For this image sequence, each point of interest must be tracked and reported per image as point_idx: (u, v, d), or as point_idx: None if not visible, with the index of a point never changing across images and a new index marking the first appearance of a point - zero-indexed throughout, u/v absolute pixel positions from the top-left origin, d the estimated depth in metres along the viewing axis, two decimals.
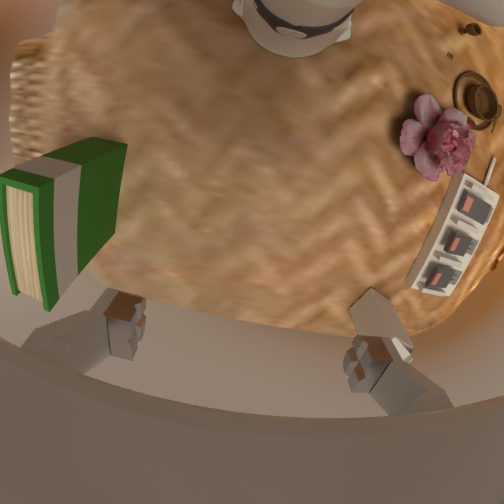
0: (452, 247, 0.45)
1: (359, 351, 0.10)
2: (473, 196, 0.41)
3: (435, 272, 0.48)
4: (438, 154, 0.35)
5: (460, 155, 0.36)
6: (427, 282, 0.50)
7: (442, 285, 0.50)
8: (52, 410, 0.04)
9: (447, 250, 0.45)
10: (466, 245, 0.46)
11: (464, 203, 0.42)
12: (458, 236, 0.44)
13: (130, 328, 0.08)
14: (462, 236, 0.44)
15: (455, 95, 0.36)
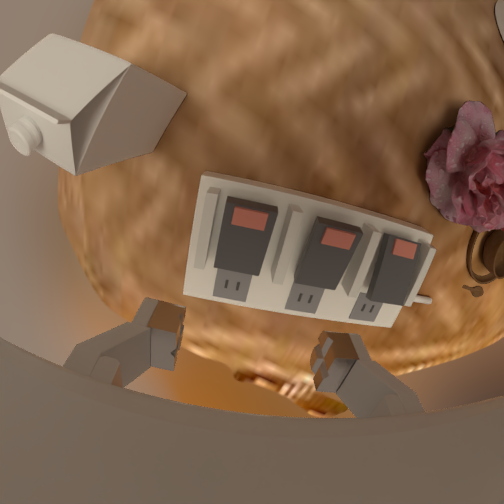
0: (332, 233, 0.24)
1: (324, 348, 0.10)
2: (415, 258, 0.27)
3: (268, 210, 0.24)
4: (495, 149, 0.19)
5: None
6: (234, 199, 0.24)
7: (223, 251, 0.26)
8: (52, 410, 0.04)
9: (323, 223, 0.24)
10: (321, 280, 0.28)
11: (405, 241, 0.26)
12: (352, 243, 0.25)
13: (175, 339, 0.08)
14: (349, 256, 0.26)
15: None
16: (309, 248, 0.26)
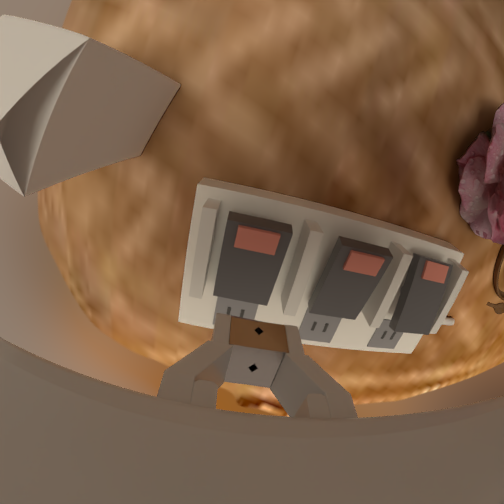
0: (358, 258, 0.20)
1: None
2: (445, 282, 0.22)
3: (280, 229, 0.19)
4: None
5: None
6: (237, 216, 0.19)
7: (224, 278, 0.22)
8: (52, 410, 0.04)
9: (347, 246, 0.20)
10: (341, 309, 0.23)
11: (436, 263, 0.21)
12: (380, 268, 0.20)
13: (257, 354, 0.09)
14: (374, 283, 0.21)
15: None
16: (328, 275, 0.21)
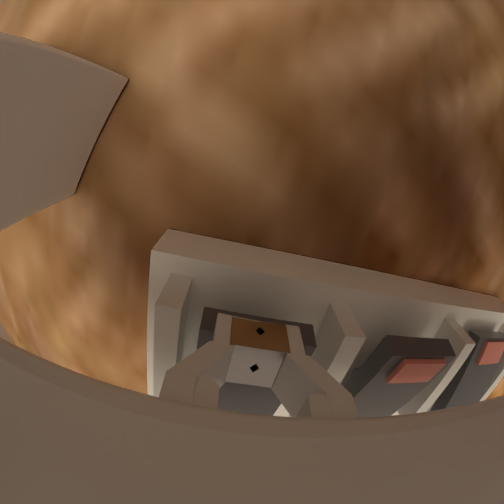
0: (412, 368, 0.11)
1: None
2: None
3: None
4: None
5: None
6: None
7: None
8: (52, 410, 0.04)
9: (399, 354, 0.11)
10: (371, 414, 0.14)
11: (495, 341, 0.13)
12: None
13: (258, 354, 0.09)
14: (422, 385, 0.12)
15: None
16: (363, 388, 0.12)
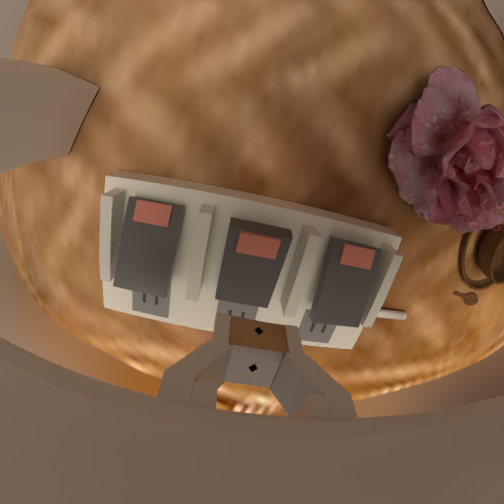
0: (249, 239, 0.20)
1: None
2: (373, 268, 0.22)
3: None
4: None
5: None
6: None
7: (123, 261, 0.20)
8: (52, 410, 0.04)
9: (236, 226, 0.20)
10: (247, 296, 0.23)
11: (357, 246, 0.22)
12: (279, 251, 0.20)
13: (257, 354, 0.09)
14: (277, 267, 0.21)
15: None
16: (223, 258, 0.21)
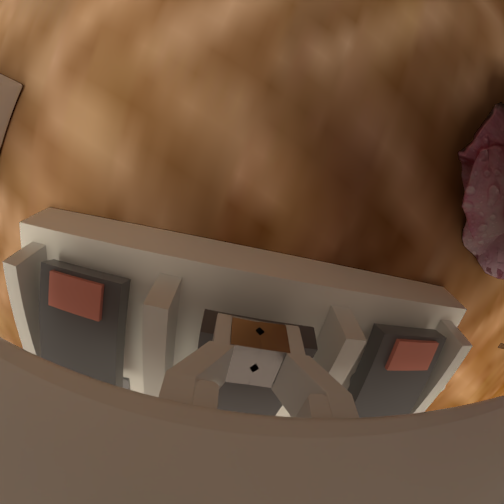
0: None
1: None
2: (430, 365, 0.12)
3: (105, 278, 0.11)
4: None
5: None
6: (58, 263, 0.11)
7: (50, 360, 0.11)
8: (52, 410, 0.04)
9: (213, 332, 0.10)
10: None
11: (416, 341, 0.12)
12: None
13: (258, 354, 0.09)
14: None
15: None
16: None
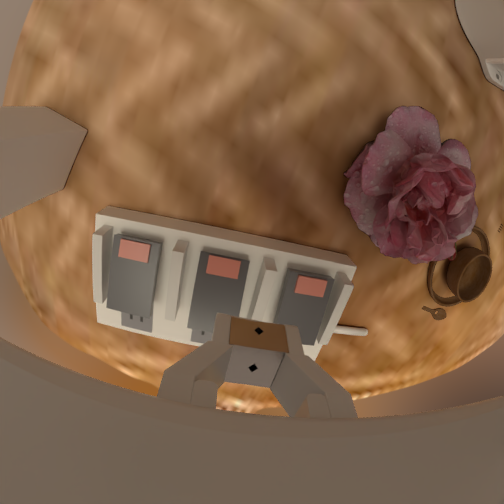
0: (216, 260, 0.25)
1: None
2: (326, 295, 0.26)
3: (151, 242, 0.24)
4: (429, 166, 0.19)
5: None
6: (122, 235, 0.24)
7: (113, 289, 0.24)
8: (52, 410, 0.04)
9: (206, 252, 0.25)
10: None
11: (311, 277, 0.26)
12: (240, 273, 0.26)
13: (257, 354, 0.09)
14: (240, 289, 0.26)
15: None
16: (195, 282, 0.25)
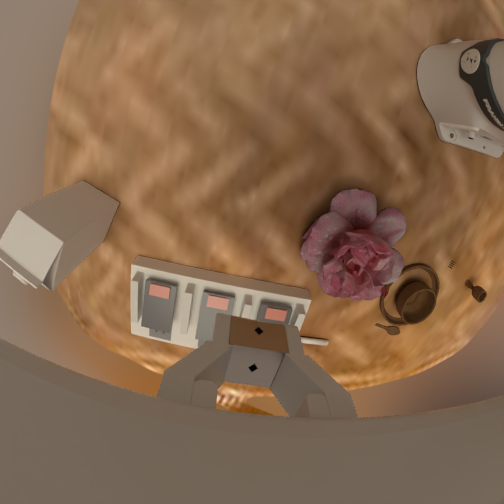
0: (212, 298, 0.38)
1: None
2: (287, 320, 0.39)
3: (170, 285, 0.38)
4: (354, 241, 0.31)
5: (346, 282, 0.36)
6: (151, 280, 0.38)
7: (146, 314, 0.38)
8: (52, 410, 0.04)
9: (206, 292, 0.38)
10: None
11: (275, 308, 0.39)
12: (229, 306, 0.39)
13: (257, 354, 0.09)
14: None
15: (421, 265, 0.41)
16: (200, 311, 0.39)
